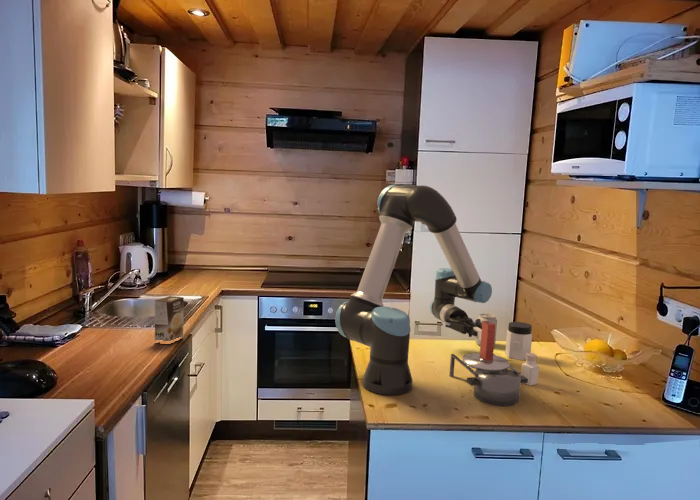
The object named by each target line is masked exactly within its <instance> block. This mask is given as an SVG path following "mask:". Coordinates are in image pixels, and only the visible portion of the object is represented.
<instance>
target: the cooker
mask: <svg viewBox="0 0 700 500" xmlns="http://www.w3.org/2000/svg"><path fill="white" fill-rule="evenodd" d="M493 355H496V354H495V353H493ZM455 361H457V362H458V363H460V365H461V366H462V367H464V368H465V369H467V371H469V372H470V373H471V374H472V375H473V376H474V377H471V376H470V377H466V383H468V384H469V385H470V386H473V396H474V398H475V399H476V400H478V401H480V402H481V403H484V404H486V405H491V406H495V407H512V406H516V405H518V403H520V402H519V401H520V391H521V384H524V383H528V379H527V378H526V377H524V376H523V375H521V371H519V370H517V369H516V368H515V367H513V366H512V365H510V364H509V368H508V369H506V370H503V371H484V370H479V369H475V370H474V369H473V368H472V367H469V366H467V365H466V364H464V363H463V359H462V360H461V359H460V358H459V357H458V356H457V355H456V354H454V353H450V362H449V377H450V378H451V377H454V375H455Z"/></svg>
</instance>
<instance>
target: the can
mask: <svg viewBox="0 0 700 500" xmlns="http://www.w3.org/2000/svg"><path fill="white" fill-rule="evenodd" d="M496 317H497V316H496V315H494V314H492V313H485V312H484V313H480V314H479V316H477V319H480V322H481V323H482V321H490V322H492V323H494V324H495V337H494V346H496V340H497V338H496V337H497V325H498V319H497V318H496ZM477 319H476V320H477ZM475 343H476V344H477V345H478V346H479V347H480V345H481V340H479V339H478V338H476V337H475Z"/></svg>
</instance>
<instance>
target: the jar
mask: <svg viewBox="0 0 700 500" xmlns="http://www.w3.org/2000/svg"><path fill="white" fill-rule="evenodd" d="M532 330H533V326H532V324H530V323H527V322H522V321H510V322H509V323H508V327H507V330H506V342H505V353H504V354H505V355H506V356H507V358H509V359H514V360H518V361H524V360H525V361H526V354H527V353H532V341H533V333H532Z"/></svg>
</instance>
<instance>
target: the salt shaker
mask: <svg viewBox="0 0 700 500" xmlns="http://www.w3.org/2000/svg"><path fill="white" fill-rule="evenodd" d="M537 358H538V356H537V354H535V353H533V352H531V353H527V354H526V359H525V362H524V363H522V364H521V371H520V375H523V376H524V377H526V378H527V379H528V383H523V384H525V385H527V386H530V387H531V386H534V385H537V384H538V380H539V369H540V366H539V365H538V364H537Z"/></svg>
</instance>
